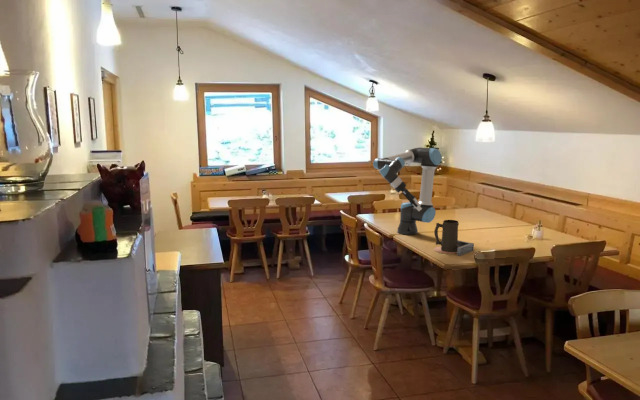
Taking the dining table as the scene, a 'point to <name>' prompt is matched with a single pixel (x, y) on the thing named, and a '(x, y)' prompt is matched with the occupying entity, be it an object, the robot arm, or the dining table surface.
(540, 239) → the dining table surface
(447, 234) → the beer stein
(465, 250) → the wall corner
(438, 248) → the terracotta mat
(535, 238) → the dining table surface
